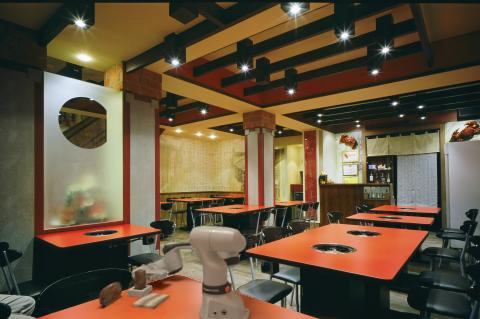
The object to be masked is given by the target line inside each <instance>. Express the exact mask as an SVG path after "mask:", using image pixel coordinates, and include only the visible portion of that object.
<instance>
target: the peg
mask: <svg viewBox="0 0 480 319" xmlns="http://www.w3.org/2000/svg"><path fill="white" fill-rule="evenodd" d="M146 280H147V279H146V270H141V269H139V270H137V271H135V279H134V286H135V290H143V289H144V288H145V286H146V285H147V284H146V283H147V282H146Z"/></svg>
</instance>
